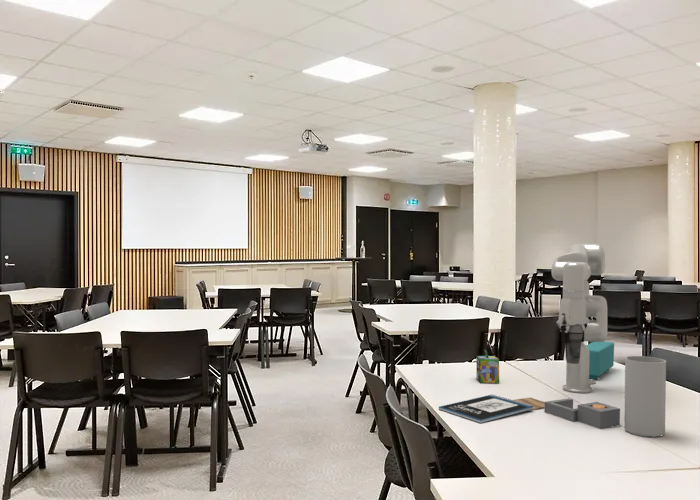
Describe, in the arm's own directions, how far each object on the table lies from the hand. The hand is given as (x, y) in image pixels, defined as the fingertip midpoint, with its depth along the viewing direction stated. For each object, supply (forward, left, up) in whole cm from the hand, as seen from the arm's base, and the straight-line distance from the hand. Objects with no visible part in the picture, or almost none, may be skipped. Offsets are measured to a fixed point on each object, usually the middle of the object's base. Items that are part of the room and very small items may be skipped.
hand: (572, 341), depth 222 cm
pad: (+4, -18, -27) cm, 33 cm away
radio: (-69, -48, -28) cm, 88 cm away
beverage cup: (0, 0, -8) cm, 8 cm away
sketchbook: (+26, -18, -27) cm, 42 cm away
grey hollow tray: (+1, +5, -27) cm, 28 cm away
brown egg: (0, +12, -25) cm, 28 cm away
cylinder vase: (-6, +26, -28) cm, 39 cm away
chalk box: (-8, -58, -28) cm, 65 cm away
